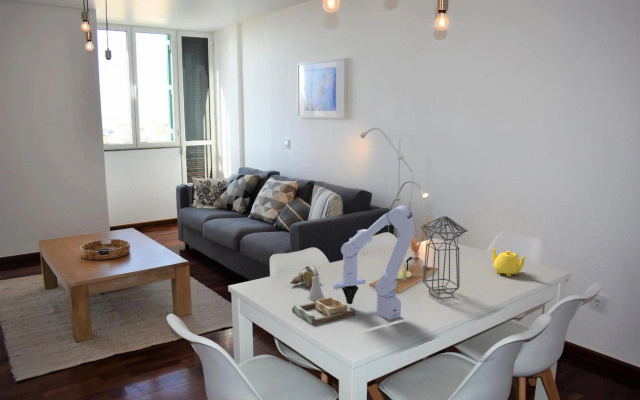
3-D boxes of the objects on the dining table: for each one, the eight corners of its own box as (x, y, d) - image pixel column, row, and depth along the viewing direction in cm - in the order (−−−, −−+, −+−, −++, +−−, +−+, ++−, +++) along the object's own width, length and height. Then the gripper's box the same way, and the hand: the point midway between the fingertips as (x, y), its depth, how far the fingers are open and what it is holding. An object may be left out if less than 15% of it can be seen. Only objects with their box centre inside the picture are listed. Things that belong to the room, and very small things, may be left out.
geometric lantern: (432, 302, 224) (436, 220, 218) (416, 290, 239) (419, 213, 233) (466, 299, 228) (470, 218, 222) (448, 287, 243) (451, 211, 237)
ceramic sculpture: (324, 263, 250) (309, 273, 237) (324, 280, 251) (309, 292, 238) (304, 260, 254) (288, 270, 241) (304, 277, 256) (289, 288, 243)
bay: (355, 317, 208) (355, 307, 207) (313, 327, 198) (313, 317, 197) (332, 304, 221) (332, 295, 221) (292, 313, 211) (292, 304, 210)
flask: (314, 296, 231) (314, 273, 230) (327, 299, 227) (328, 277, 225) (303, 300, 226) (303, 277, 224) (317, 304, 221) (317, 281, 220)
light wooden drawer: (347, 313, 209) (347, 305, 208) (330, 318, 204) (330, 309, 204) (331, 305, 218) (331, 296, 217) (315, 309, 214) (315, 300, 213)
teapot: (534, 275, 262) (536, 252, 260) (517, 281, 253) (519, 257, 251) (499, 266, 277) (500, 244, 275) (481, 271, 268) (483, 248, 266)
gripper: (358, 265, 221) (358, 297, 223) (329, 271, 213) (328, 303, 215) (369, 270, 215) (368, 302, 217) (339, 275, 207) (338, 309, 209)
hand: (349, 303), depth 216 cm, fingers closed
